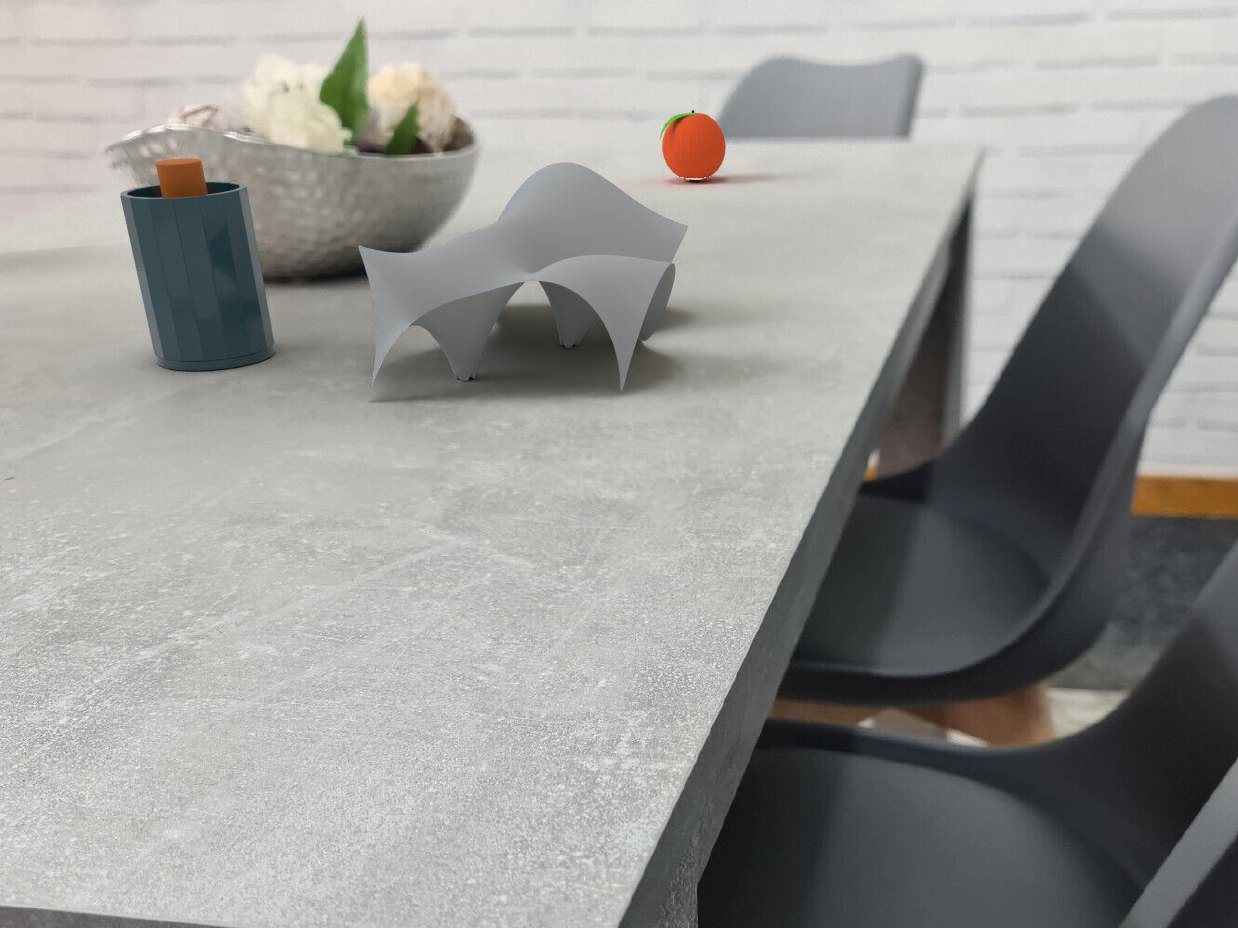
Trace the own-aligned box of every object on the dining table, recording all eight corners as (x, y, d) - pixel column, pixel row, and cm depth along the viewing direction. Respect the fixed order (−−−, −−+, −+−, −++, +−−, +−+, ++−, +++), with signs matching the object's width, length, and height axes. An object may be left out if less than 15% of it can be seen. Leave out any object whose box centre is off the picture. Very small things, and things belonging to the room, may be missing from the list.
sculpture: (684, 394, 81) (677, 212, 76) (349, 402, 81) (321, 220, 77) (693, 300, 103) (688, 154, 98) (429, 306, 103) (411, 161, 98)
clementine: (681, 188, 152) (678, 115, 149) (642, 182, 157) (639, 111, 154) (739, 180, 157) (738, 109, 153) (700, 174, 161) (698, 105, 158)
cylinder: (194, 353, 90) (155, 164, 84) (192, 344, 92) (155, 160, 86) (237, 349, 90) (201, 161, 85) (235, 340, 92) (200, 157, 87)
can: (157, 376, 87) (119, 202, 82) (156, 350, 93) (120, 186, 88) (279, 363, 89) (249, 192, 85) (271, 338, 95) (242, 178, 90)
